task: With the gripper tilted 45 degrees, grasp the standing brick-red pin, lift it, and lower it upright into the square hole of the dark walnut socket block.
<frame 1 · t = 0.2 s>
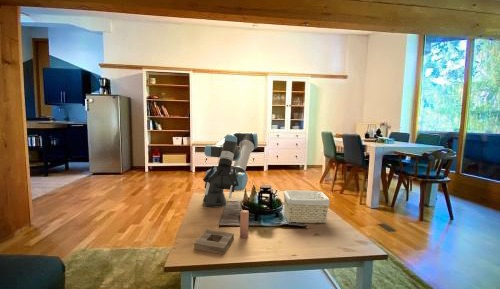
hand: (217, 196, 141), 16 cm above the table, tool tilted 35°, fingers open, 13 cm apart
socket block: (214, 244, 122), on the table
storage basket: (304, 219, 154), on the table
pin: (243, 236, 130), on the table
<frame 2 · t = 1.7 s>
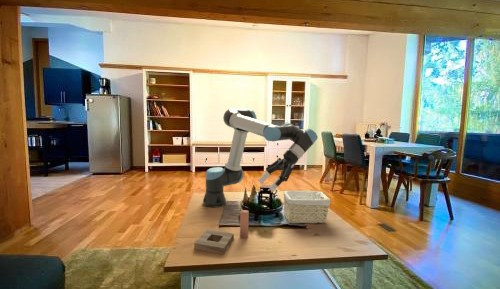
hand: (265, 185, 129), 26 cm above the table, tool tilted 45°, fingers open, 13 cm apart
nothing on the table moved.
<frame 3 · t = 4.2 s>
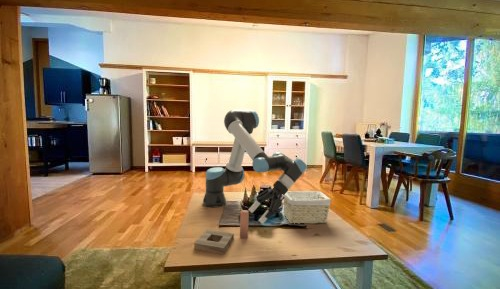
hand: (255, 216, 129), 10 cm above the table, tool tilted 45°, fingers open, 13 cm apart
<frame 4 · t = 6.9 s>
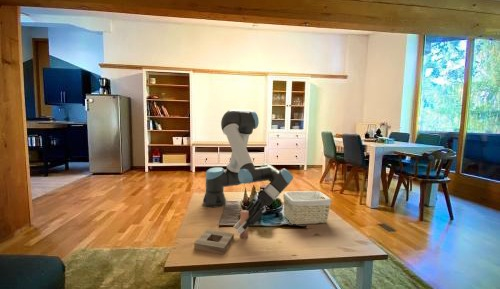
hand: (236, 230, 128), 4 cm above the table, tool tilted 45°, fingers closed on pin, 4 cm apart
pin: (243, 236, 130), on the table, touching gripper
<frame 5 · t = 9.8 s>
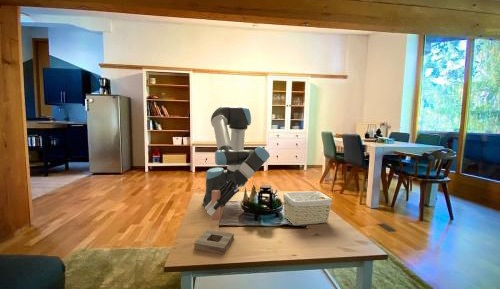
hand: (207, 211, 118), 16 cm above the table, tool tilted 45°, fingers closed on pin, 4 cm apart
pin: (215, 218, 120), point 12 cm above the table, touching gripper
when the fingers open (5 cm above the table, at t = 12.7 s): pin drops 1 cm, resting in socket block.
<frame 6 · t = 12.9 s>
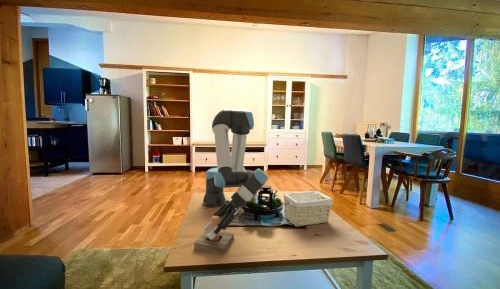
hand: (207, 234, 120), 6 cm above the table, tool tilted 45°, fingers open, 7 cm apart
pin: (214, 244, 122), resting in socket block
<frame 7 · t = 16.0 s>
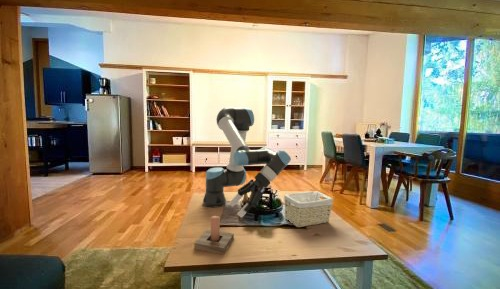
hand: (234, 210, 123), 15 cm above the table, tool tilted 45°, fingers open, 13 cm apart
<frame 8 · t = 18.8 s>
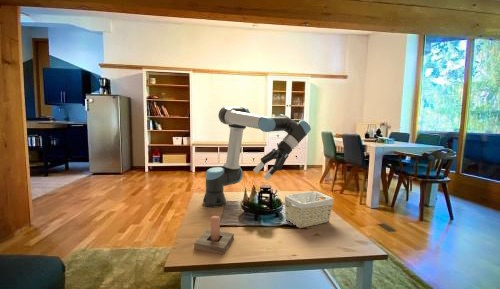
hand: (259, 175, 133), 30 cm above the table, tool tilted 45°, fingers open, 13 cm apart
at the end: pin 0.1 cm off-centre on the socket block, point 0.0 cm above the socket block's base; pin tilted 0°; the gripper is holding nothing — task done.
